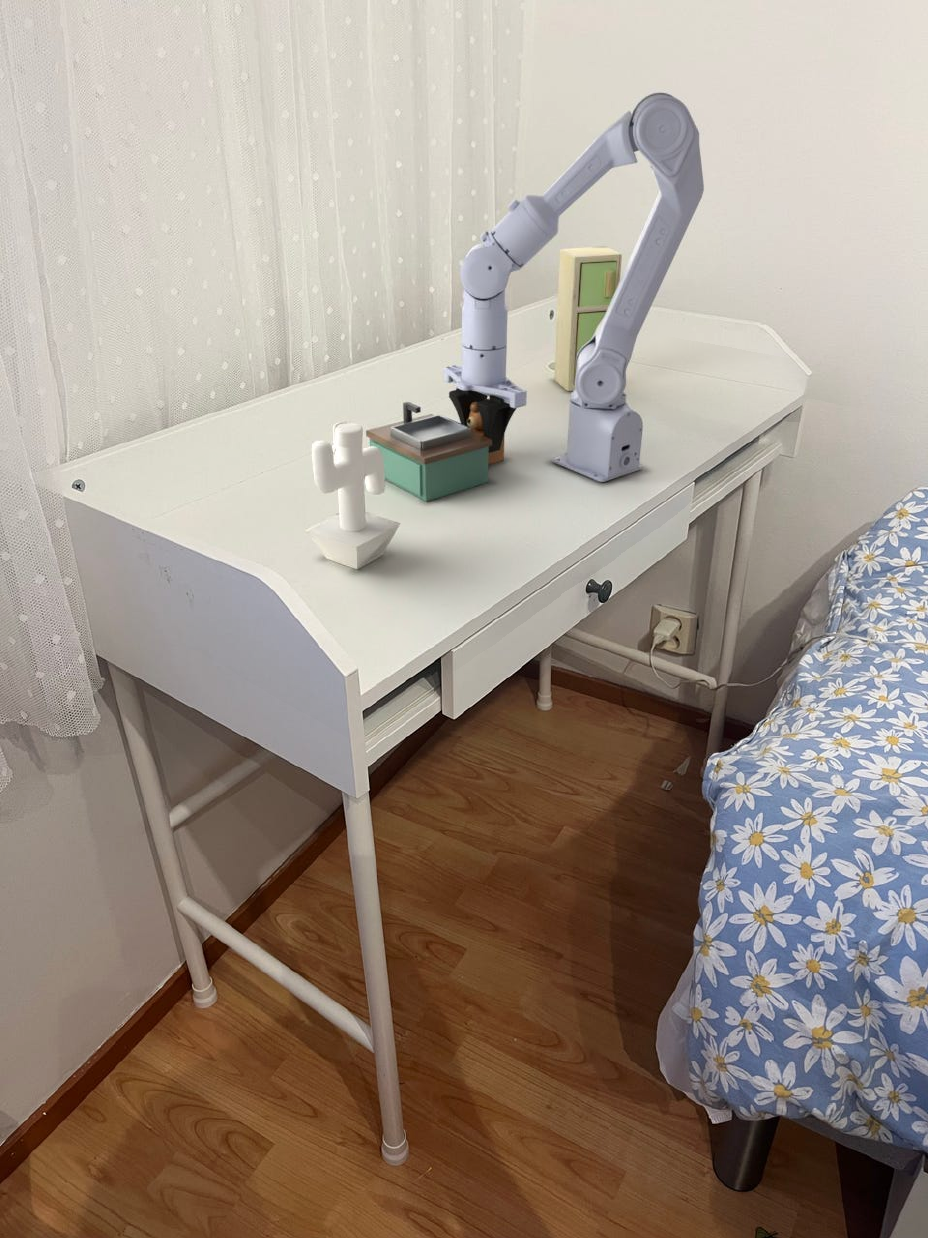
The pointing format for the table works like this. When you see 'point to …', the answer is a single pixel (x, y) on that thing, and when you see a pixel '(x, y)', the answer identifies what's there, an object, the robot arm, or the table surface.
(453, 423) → the toy sink
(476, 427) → the toy bear
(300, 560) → the table surface
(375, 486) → the figurine
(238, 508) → the table surface
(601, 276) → the toy refrigerator
